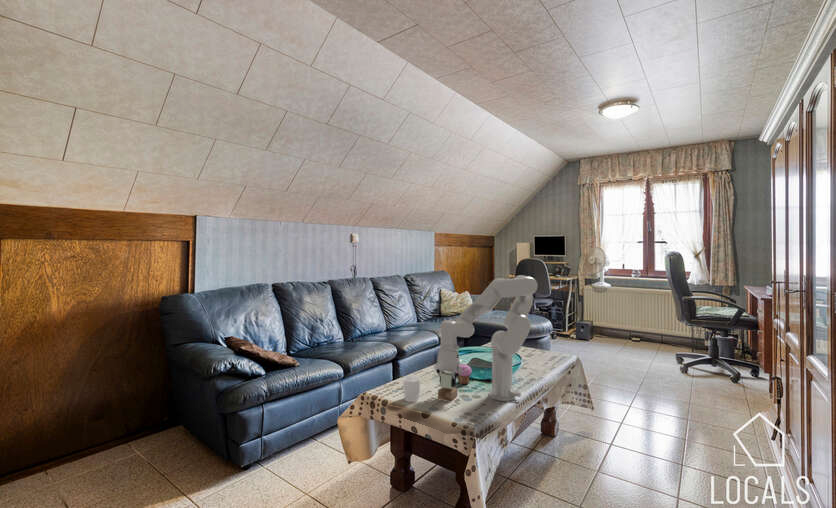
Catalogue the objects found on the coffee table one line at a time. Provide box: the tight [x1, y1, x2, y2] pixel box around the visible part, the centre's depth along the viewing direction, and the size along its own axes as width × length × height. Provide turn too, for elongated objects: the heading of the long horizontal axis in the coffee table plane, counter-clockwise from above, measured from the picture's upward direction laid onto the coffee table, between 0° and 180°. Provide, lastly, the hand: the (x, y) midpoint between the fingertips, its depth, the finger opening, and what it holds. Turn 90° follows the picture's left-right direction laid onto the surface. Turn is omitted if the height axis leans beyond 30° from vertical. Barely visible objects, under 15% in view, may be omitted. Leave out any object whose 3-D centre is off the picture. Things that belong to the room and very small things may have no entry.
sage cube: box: [440, 371, 452, 389], centre depth 186 cm, size 5×5×6 cm
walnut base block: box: [437, 386, 458, 402], centre depth 186 cm, size 7×7×4 cm
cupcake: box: [456, 363, 473, 385], centre depth 208 cm, size 9×9×10 cm
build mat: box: [435, 395, 460, 403], centre depth 186 cm, size 18×12×1 cm, turn 63°
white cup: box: [403, 375, 421, 403], centre depth 183 cm, size 8×8×10 cm
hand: (447, 384), depth 186 cm, fingers closed on sage cube, 5 cm apart
